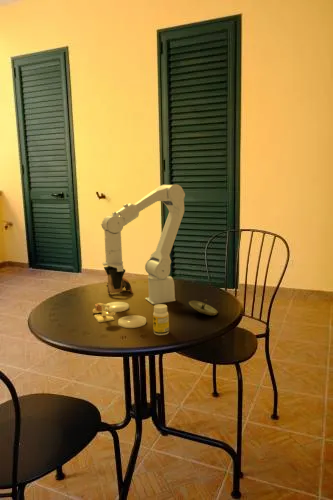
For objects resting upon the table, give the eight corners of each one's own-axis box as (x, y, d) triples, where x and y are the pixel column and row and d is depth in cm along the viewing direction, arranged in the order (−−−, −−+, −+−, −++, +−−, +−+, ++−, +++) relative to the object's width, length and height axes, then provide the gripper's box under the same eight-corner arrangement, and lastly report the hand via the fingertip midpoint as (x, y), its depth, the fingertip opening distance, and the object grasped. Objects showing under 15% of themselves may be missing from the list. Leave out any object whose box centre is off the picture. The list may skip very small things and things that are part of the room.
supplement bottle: (153, 330, 125) (152, 303, 124) (168, 329, 126) (167, 303, 124) (153, 336, 121) (153, 308, 119) (169, 335, 121) (169, 308, 120)
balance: (104, 310, 145) (103, 293, 144) (118, 325, 130) (117, 306, 129) (90, 312, 143) (89, 295, 142) (103, 327, 128) (102, 308, 127)
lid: (187, 309, 145) (187, 295, 144) (215, 308, 145) (215, 294, 144) (190, 319, 134) (189, 304, 133) (220, 318, 134) (220, 303, 134)
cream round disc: (140, 316, 138) (140, 313, 138) (150, 324, 130) (150, 321, 130) (114, 320, 134) (114, 318, 134) (123, 329, 126) (123, 326, 126)
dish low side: (124, 303, 153) (124, 300, 153) (132, 309, 145) (132, 307, 145) (100, 306, 149) (100, 304, 149) (107, 313, 141) (107, 311, 141)
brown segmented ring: (134, 296, 163) (124, 281, 159) (114, 307, 164) (103, 292, 160) (132, 281, 174) (123, 267, 170) (113, 291, 174) (103, 277, 171)
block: (119, 289, 149) (118, 273, 148) (122, 291, 145) (121, 275, 144) (108, 290, 147) (107, 274, 146) (111, 293, 143) (110, 276, 142)
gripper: (97, 247, 148) (99, 284, 151) (108, 254, 135) (110, 293, 138) (115, 246, 151) (117, 281, 154) (128, 252, 138) (130, 290, 141)
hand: (115, 287), depth 146 cm, fingers closed on block, 4 cm apart
